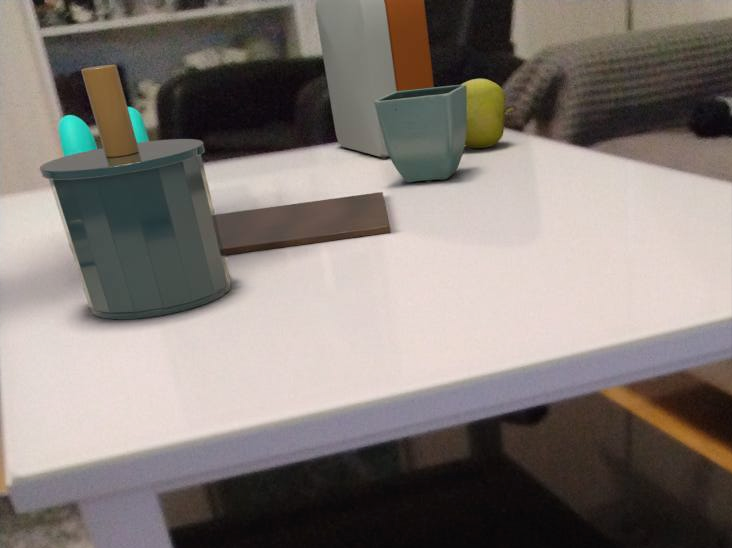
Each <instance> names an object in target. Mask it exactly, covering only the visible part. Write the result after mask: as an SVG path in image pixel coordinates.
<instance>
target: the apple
mask: <svg viewBox="0 0 732 548" xmlns="http://www.w3.org/2000/svg"><path fill="white" fill-rule="evenodd" d="M460 85H466V86H467V130H466V140H465V145H464V147H465V146H466V147H469V148H472V149H473V148H474V149H484V148H489V147H493V146H494V145H496V144H497V143H498V142H499V141H500V140H501V139H502V137H503V136H504V133H505V132H504V128H505V123H506V115H507V114H509V113H512V112H514V111H515V109H514V107H511V106H510V108H508V109H506V110H505V107H506V102H507V97H506V92H505V91H504V90H503V88H502V87H501V86H500V85H499V84H497V83H496V82H494V81H492V80H490V79H486V78H475V79H473V78H472V79H470V80H467V81H465V82H463V83H461V84H460Z"/></svg>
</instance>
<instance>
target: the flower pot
mask: <svg viewBox="0 0 732 548" xmlns="http://www.w3.org/2000/svg"><path fill="white" fill-rule="evenodd" d="M374 104H375V108H376V112H377V116H378V120H379V124H380V128H381V132H382V136H383V139H384V143H385V146H386V149H387V152H388V154H389V157H388V158H390V159H389V160H390V161H391V162H392V164H393V166H394V168H395V169H396V171H397V172H398V174H399V175H400V176H401V177H402V179H403V180H404V181H405V182H406V183H415V182H423V181H433V180H435V181H436V180H440V181H445V180H447V179H449V178H451V176H452V175H453V174H454V173H456V172H457V171H458V168H459V166H460V163H461V160H462V157H463V152H464V150H465V140H466V130H467V86H466V85H461V84H456V85H455V84H454V85H445V86H436V87H435V86H434V88H425V89H416V90H406V91H398V92H393V93H391V94H389V95H387V96H384V97H382V98H380V99H378V100H376V101H374Z"/></svg>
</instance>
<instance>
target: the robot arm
mask: <svg viewBox="0 0 732 548" xmlns="http://www.w3.org/2000/svg"><path fill="white" fill-rule="evenodd" d="M32 2H33V4H34V6H42V5H45V3H46V2H45V0H32Z"/></svg>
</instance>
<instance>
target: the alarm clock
mask: <svg viewBox="0 0 732 548" xmlns="http://www.w3.org/2000/svg"><path fill="white" fill-rule="evenodd" d="M315 16H316V17H315V18H316V22H317V28H318V35H319V40H320V41H319V42H320V46H321V53H322V57H323V65H324V70H325V76H326V82H327V89H328V95H329V100H330V108H331V114H332V120H333V125H334V132H335V136H336V139H337V142H338V144H339V146H340V147H343V148H345V149H350V150H353V151H357V152H361V153H365V154H367V155H368V154H369V155H372V156H376V157H379V158H383V159H385V158H390V157H389V154H388V152H387V149H386V146H385V143H384V139H383V136H382V132H381V128H380V124H379V120H378V116H377V112H376V108H375V104H374V101H376V100H378V99H380V98H382V97H384V96H387V95H389V94H391V93H393V92H398V91H406V90H416V89H425V88H434V87H435V86H434V85H435V83H434V77H433V67H432V59H431V49H430V43H429V32H428V25H427V15H426V6H425V0H316V1H315Z"/></svg>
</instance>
